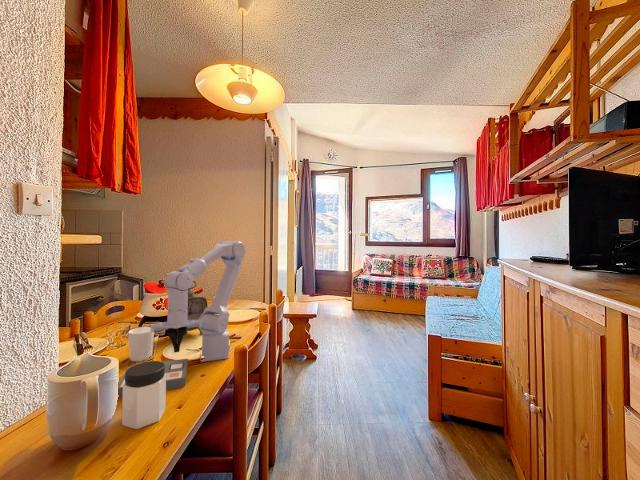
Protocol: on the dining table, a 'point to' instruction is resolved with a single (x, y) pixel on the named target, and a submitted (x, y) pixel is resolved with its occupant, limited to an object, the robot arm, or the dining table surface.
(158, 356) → the dining table surface
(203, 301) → the tabletop clock
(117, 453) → the dining table surface
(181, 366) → the button
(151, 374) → the jar
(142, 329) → the white cup
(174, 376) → the button board
